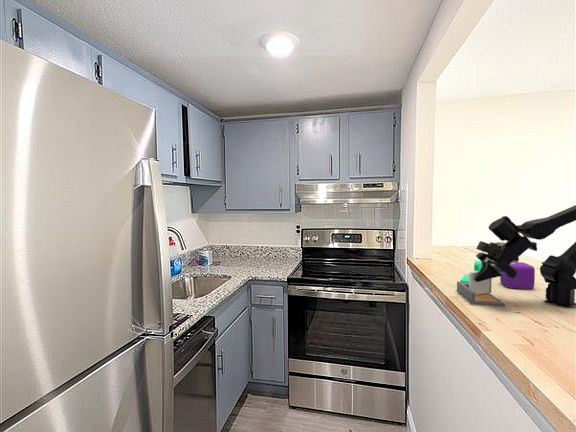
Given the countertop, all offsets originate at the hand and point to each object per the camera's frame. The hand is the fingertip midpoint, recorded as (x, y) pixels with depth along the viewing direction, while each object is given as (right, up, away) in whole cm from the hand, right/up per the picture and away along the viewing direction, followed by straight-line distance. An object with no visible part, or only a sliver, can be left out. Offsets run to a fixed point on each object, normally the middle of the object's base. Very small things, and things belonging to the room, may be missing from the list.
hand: (475, 280), depth 109 cm
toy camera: (+27, -6, +19) cm, 34 cm away
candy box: (+35, -5, +35) cm, 50 cm away
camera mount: (+11, -6, +21) cm, 24 cm away
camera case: (+3, -7, +3) cm, 8 cm away
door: (+3, -5, +3) cm, 7 cm away
